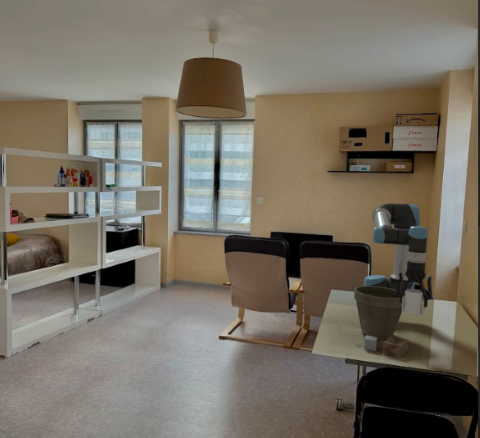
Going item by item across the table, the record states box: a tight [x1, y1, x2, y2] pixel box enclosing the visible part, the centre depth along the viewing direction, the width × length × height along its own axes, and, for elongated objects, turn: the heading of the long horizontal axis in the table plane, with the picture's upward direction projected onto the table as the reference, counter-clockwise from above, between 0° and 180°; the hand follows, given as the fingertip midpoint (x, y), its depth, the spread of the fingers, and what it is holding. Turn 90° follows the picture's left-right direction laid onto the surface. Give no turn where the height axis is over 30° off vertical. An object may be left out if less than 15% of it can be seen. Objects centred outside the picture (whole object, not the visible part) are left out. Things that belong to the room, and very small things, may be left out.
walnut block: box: [382, 335, 409, 359], centre depth 192 cm, size 8×11×5 cm
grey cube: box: [363, 335, 378, 352], centre depth 195 cm, size 5×5×5 cm
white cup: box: [404, 288, 424, 316], centre depth 194 cm, size 8×8×10 cm
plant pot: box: [353, 285, 405, 340], centre depth 215 cm, size 25×25×22 cm
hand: (412, 312), depth 194 cm, fingers closed on white cup, 8 cm apart
